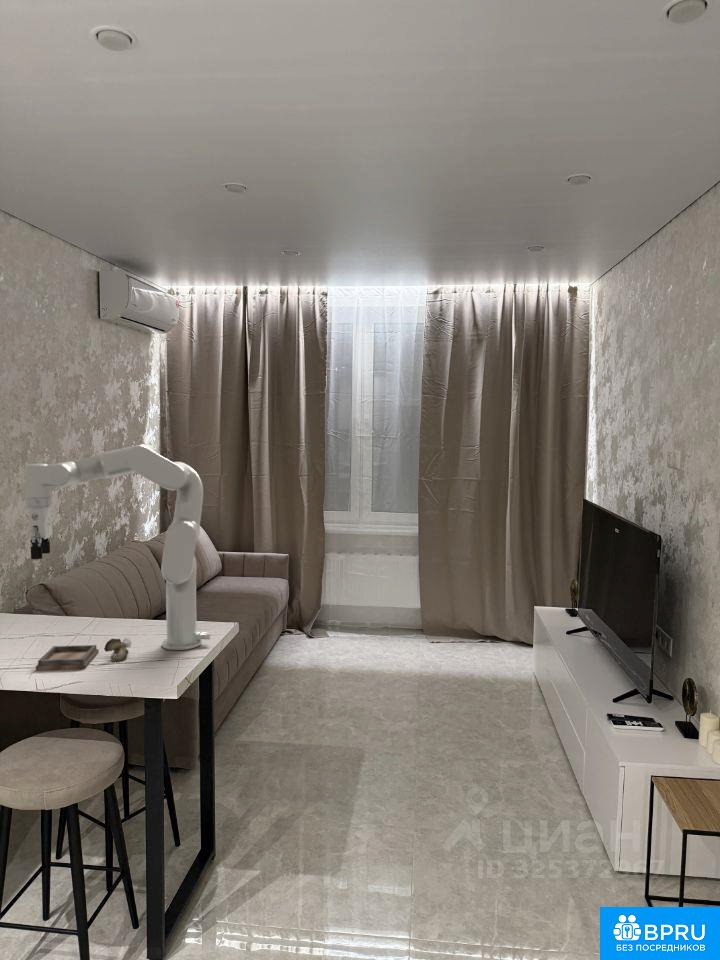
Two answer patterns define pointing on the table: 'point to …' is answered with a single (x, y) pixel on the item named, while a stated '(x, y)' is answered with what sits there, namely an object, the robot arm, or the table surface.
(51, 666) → the wooden tray
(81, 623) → the table surface
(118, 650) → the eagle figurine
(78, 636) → the table surface
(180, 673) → the table surface
